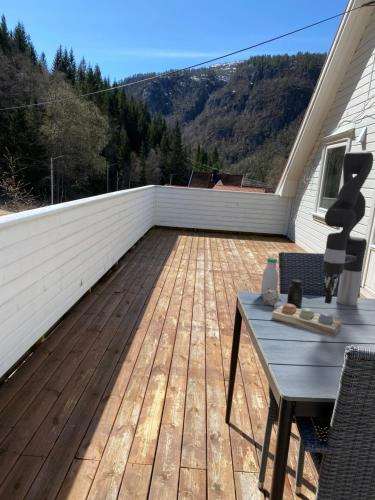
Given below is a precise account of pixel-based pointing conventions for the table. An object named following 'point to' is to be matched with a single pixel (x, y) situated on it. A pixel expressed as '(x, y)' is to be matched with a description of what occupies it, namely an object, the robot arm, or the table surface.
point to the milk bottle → (270, 276)
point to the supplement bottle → (295, 293)
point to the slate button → (326, 318)
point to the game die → (271, 297)
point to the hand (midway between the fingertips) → (327, 302)
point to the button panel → (307, 321)
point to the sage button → (307, 313)
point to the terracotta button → (289, 308)
